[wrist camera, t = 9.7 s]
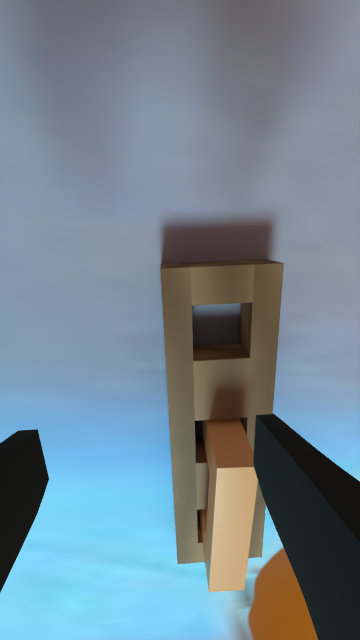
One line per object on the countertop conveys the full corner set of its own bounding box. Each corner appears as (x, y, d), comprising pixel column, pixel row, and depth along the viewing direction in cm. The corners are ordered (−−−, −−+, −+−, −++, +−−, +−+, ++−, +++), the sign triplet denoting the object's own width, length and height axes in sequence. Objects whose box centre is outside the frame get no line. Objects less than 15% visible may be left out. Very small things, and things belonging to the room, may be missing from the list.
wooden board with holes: (176, 532, 25) (177, 564, 22) (161, 264, 17) (160, 268, 15) (252, 526, 25) (261, 556, 22) (267, 259, 18) (283, 263, 15)
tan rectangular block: (198, 506, 24) (208, 592, 18) (202, 404, 21) (217, 468, 15) (225, 505, 24) (244, 590, 18) (233, 403, 21) (259, 466, 15)
